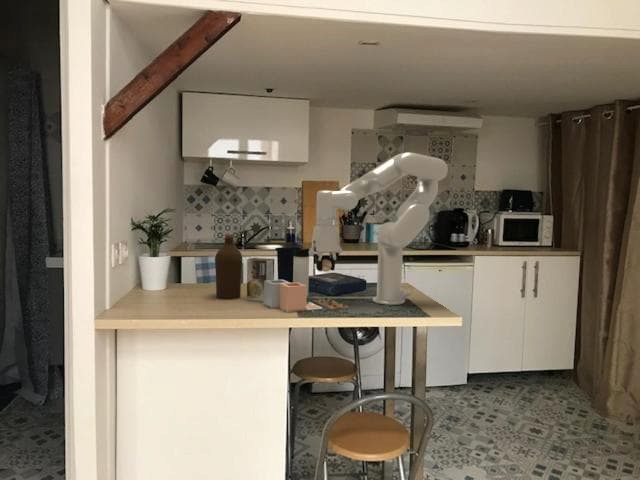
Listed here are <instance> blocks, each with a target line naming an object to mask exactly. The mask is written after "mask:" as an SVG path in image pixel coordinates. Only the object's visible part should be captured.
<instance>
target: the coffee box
mask: <svg viewBox="0 0 640 480" xmlns="http://www.w3.org/2000/svg"><path fill="white" fill-rule="evenodd" d="M266 280H275V258H265V257H252V258H249V259H246V301H253V302H263V303H264V281H266Z"/></svg>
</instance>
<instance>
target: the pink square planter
mask: <svg viewBox="0 0 640 480" xmlns="http://www.w3.org/2000/svg"><path fill="white" fill-rule="evenodd" d="M307 299H308V298H307V286H306V285H304V284H301V283H298V282H296V283H293V282H290V283H280V290H279V308H278V309H280V310H282V311H284V312H286V313H294V312H305V311H307V310H306V301H307Z"/></svg>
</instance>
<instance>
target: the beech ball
mask: <svg viewBox="0 0 640 480" xmlns="http://www.w3.org/2000/svg"><path fill="white" fill-rule="evenodd" d="M321 261H322V271H321V272H329V271H331V270H330V269H331V267H332V264H331V262H330V261H329V259H323V260H322V259H321Z"/></svg>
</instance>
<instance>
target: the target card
mask: <svg viewBox="0 0 640 480" xmlns="http://www.w3.org/2000/svg"><path fill="white" fill-rule="evenodd" d="M322 309H323V306H321V305H320V306H319V305H317V304H316V303H313V302H311V301H309V302H308V301H307V300H306V311H310V310H311V311H312V310H313V311H314V310H322Z"/></svg>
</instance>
